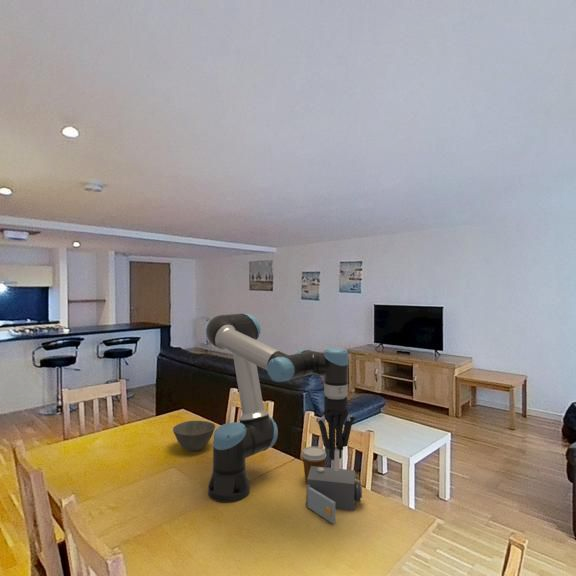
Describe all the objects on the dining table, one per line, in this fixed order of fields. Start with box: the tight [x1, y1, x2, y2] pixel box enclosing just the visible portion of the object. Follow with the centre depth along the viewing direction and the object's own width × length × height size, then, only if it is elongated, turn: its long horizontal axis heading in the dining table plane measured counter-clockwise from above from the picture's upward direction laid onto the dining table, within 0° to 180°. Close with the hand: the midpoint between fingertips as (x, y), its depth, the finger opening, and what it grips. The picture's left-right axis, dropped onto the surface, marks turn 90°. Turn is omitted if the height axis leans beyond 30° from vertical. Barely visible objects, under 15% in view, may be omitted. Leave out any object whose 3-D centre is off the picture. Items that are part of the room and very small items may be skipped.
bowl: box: [172, 420, 216, 452], centre depth 182 cm, size 19×19×10 cm
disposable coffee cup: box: [301, 445, 327, 485], centre depth 152 cm, size 10×10×12 cm
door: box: [305, 484, 336, 524], centre depth 130 cm, size 13×2×7 cm, turn 39°
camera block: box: [306, 466, 363, 512], centre depth 140 cm, size 18×10×10 cm, turn 79°
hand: (335, 468), depth 129 cm, fingers closed
